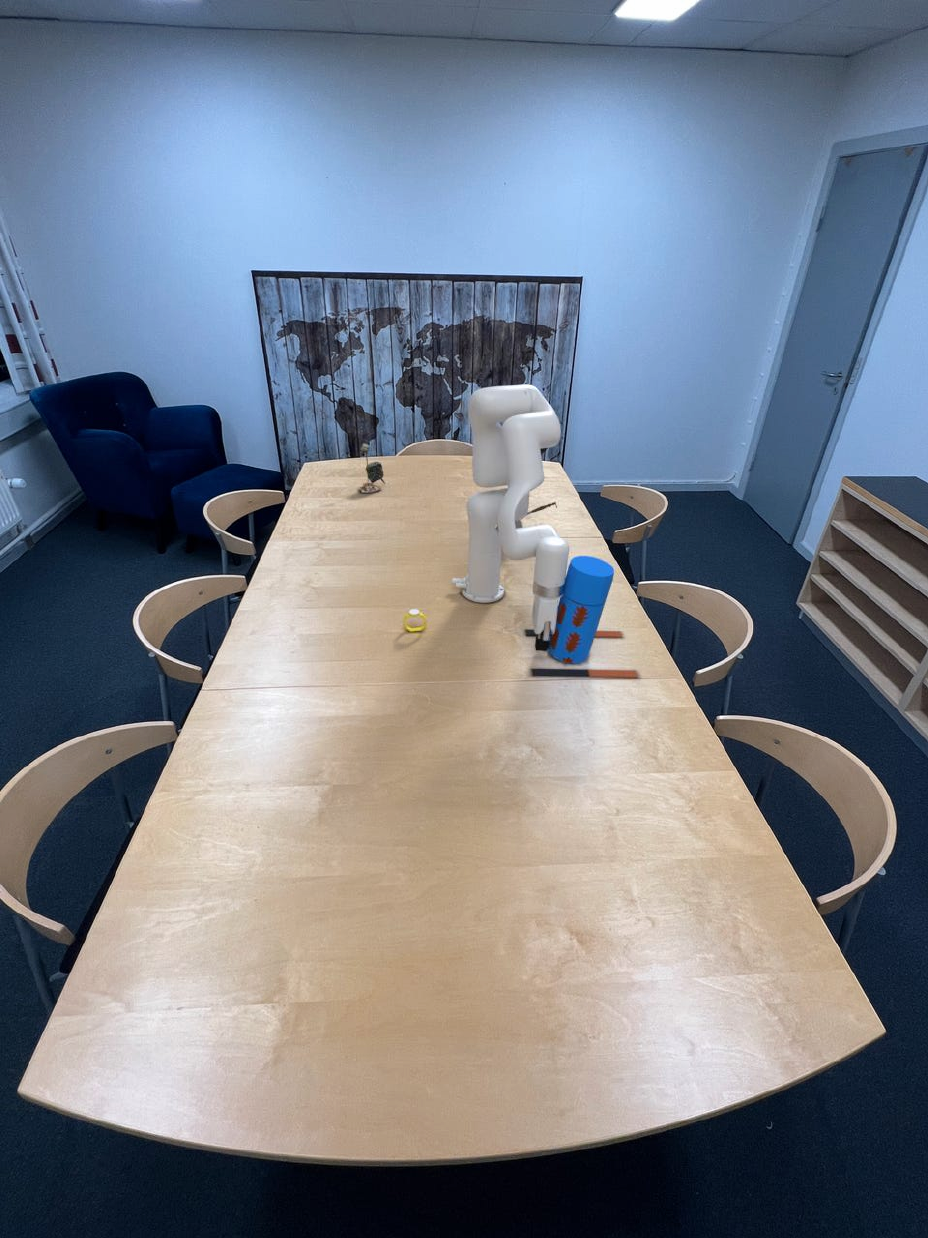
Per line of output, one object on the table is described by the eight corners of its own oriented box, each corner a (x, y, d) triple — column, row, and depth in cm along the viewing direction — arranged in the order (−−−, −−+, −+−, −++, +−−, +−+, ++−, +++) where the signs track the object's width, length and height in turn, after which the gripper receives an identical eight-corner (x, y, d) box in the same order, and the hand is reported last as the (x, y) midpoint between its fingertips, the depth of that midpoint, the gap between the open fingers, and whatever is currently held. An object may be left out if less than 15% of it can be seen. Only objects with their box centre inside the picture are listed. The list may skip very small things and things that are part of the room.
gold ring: (426, 627, 167) (425, 608, 164) (426, 632, 165) (426, 614, 162) (403, 627, 167) (403, 609, 163) (404, 633, 164) (403, 614, 161)
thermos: (587, 668, 153) (614, 581, 140) (545, 657, 154) (569, 570, 141) (588, 645, 163) (614, 561, 150) (549, 635, 164) (571, 551, 151)
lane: (532, 676, 150) (532, 674, 150) (525, 630, 167) (525, 629, 167) (637, 678, 151) (638, 676, 151) (619, 632, 168) (620, 631, 168)
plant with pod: (386, 493, 248) (384, 444, 238) (357, 494, 247) (354, 444, 236) (385, 486, 255) (383, 438, 244) (357, 486, 254) (354, 438, 243)
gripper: (530, 572, 154) (524, 632, 164) (535, 602, 142) (529, 666, 152) (560, 572, 154) (552, 633, 164) (568, 603, 142) (559, 666, 152)
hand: (541, 648), depth 158 cm, fingers closed
